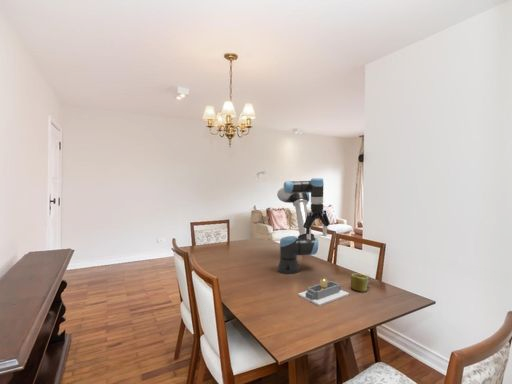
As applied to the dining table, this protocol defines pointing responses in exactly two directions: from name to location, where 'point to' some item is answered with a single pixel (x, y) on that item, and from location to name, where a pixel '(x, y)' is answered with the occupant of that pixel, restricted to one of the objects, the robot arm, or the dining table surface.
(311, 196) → the robot arm
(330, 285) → the white grey flat tray
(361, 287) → the mug
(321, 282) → the pin
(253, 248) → the dining table surface
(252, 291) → the dining table surface
